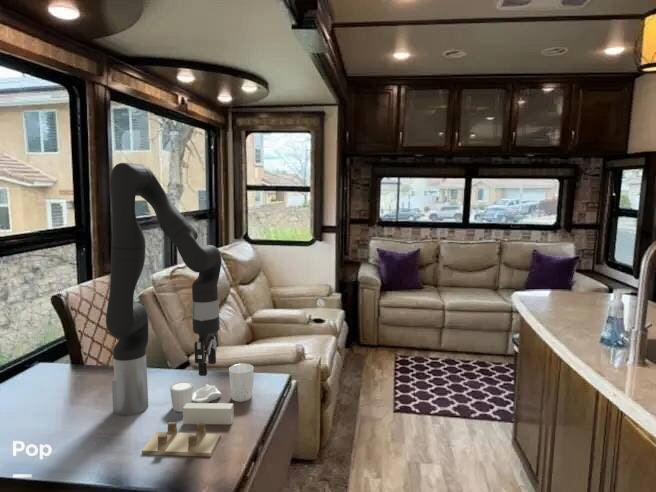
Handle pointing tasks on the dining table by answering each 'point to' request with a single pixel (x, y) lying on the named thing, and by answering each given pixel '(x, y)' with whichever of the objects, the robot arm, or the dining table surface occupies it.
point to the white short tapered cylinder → (181, 395)
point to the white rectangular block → (208, 413)
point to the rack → (182, 442)
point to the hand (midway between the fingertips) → (207, 369)
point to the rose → (206, 394)
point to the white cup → (241, 382)
